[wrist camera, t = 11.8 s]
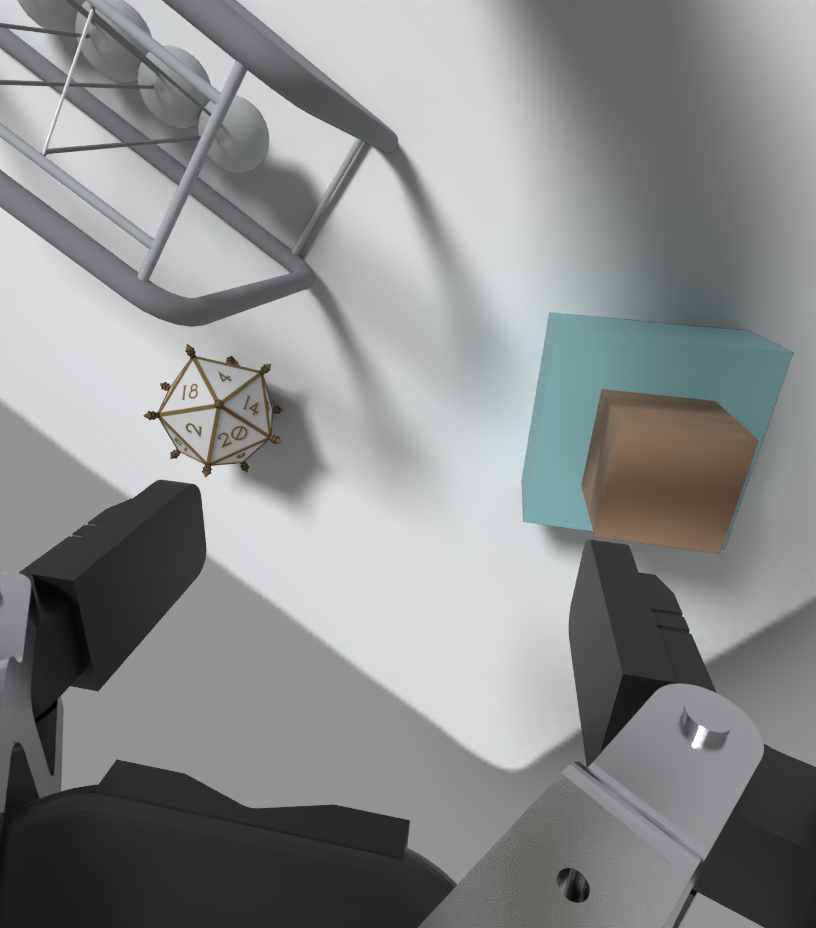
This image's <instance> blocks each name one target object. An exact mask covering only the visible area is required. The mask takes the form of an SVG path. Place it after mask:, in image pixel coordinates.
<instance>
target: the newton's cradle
mask: <svg viewBox="0 0 816 928" xmlns="http://www.w3.org/2000/svg"><path fill="white" fill-rule="evenodd" d="M162 1H164V2H165V3H166V4H167V5H169V6H170V7H171V8H172V9H173V10H175V11H176V12H177V13H178V14H180V15H181V16H182V17H183V18H184V19H186V20H187V21H188V22H189V23H191V24H192V25H193V26H194V27H196V28H197V29H198V30H199V31H200V32H202V33H203V34H204V35H205V36H207V37H208V38H209V39H210V40H211V41H213V42H214V43H215V44H216V45H218V46H219V47H220V48H221V49H222V50H224V51H225V52H226V53H227V54H229V55H230V56H231V57H232V58H233V59H235V60H236V62H235V64H234V66H233V69H232V71H231V73H230V75H229V77H228V80H227V82H226V84H225V86H224V88H223V90H222V93H220V92H219V91H218V90H216V89H215V88H214V87H213V86H211V83H210V80H209V77H208V75H207V73H206V71H205V70H204V68H203V67H202V65H201V64H200V62H199V61H198V60H197V59H196V58H195V57H194V56H192V55H191V54H190V53H188V52H187V51H185V50H183V49H180V48H178V47H174V46H162V45H161V44H159V43H158V42H157V41H156V40H154V39H153V38H152V36H151V33H150V31H149V28H148V26H147V24H146V22H145V21H144V20H143V18H142V17H141V16H140V14H139V13H138V12H137V11H136V10H135V9H134V8H133V7H132V6H131V5H129V4H128V3H126V2H125V1H123V0H18V2H19V3H20V5H21V7H22V8H23V10H24V11H25V12H26V13H27V15H28V16H29V17H30V18H31V19H32V20H34V21H35V22H36V23H37V24H38V25H40V26H41V27H43V28H44V29H42V28H34V27H27V26H19V25H12V24H4V23H0V47H2V48H3V49H4V50H6V51H7V52H8V53H9V54H11V55H12V56H13V57H15V58H16V59H17V60H19V61H20V62H21V63H22V64H24V65H25V66H26V67H28V68H29V69H30V70H31V71H33V72H34V73H35V74H37V75H38V76H39V77H40V78H42V79H43V80H44V81H46V82H43V81H17V80H0V85H27V86H52V87H53V88H55V89H56V90H57V91H59V92H60V93H61V94H62V96H61V99H60V102H59V105H58V108H57V111H56V114H55V117H54V119H53V122H52V125H51V128H50V131H49V134H48V137H47V140H46V143H45V146H44V149H43V151H42V153H39V152H38V151H37V150H35V149H34V148H33V147H31V146H30V145H29V144H27V143H26V142H25V141H23V140H22V139H21V138H19V137H18V136H17V135H15V134H14V133H13V132H11V131H10V130H9V129H8V128H6V127H5V126H4V125H2V124H1V123H0V137H1V138H3V139H4V140H5V141H7V142H8V143H9V144H11V145H12V146H13V147H15V148H16V149H17V150H19V151H20V152H21V153H23V154H24V155H25V156H27V157H28V158H29V159H31V160H32V161H33V162H35V163H36V164H37V165H38V166H40V167H41V168H42V169H44V170H45V171H46V172H48V173H49V174H50V175H52V176H53V177H54V178H56V179H57V180H58V181H60V182H61V183H62V184H64V185H65V186H66V187H68V188H69V189H70V190H72V191H73V192H74V193H76V194H77V195H78V196H80V197H81V198H82V199H84V200H85V201H86V202H88V203H89V204H90V205H92V206H93V207H94V208H96V209H97V210H98V211H100V212H101V213H102V214H103V215H105V216H106V217H107V218H109V219H110V220H111V221H113V222H114V223H115V224H117V225H118V226H119V227H121V228H122V229H123V230H125V231H126V232H127V233H129V234H130V235H131V236H133V237H134V238H135V239H137V240H138V241H139V242H141V243H142V244H143V245H145V246H146V247H147V248H149V249H150V250H149V252H148V254H147V256H146V258H145V261H144V263H143V265H142V267H141V269H140V272H139V273H138V272H137V271H135V270H134V269H133V268H131V267H130V266H129V265H127V264H126V263H125V262H123V261H122V260H121V259H119V258H118V257H117V256H115V255H114V254H113V253H111V252H110V251H109V250H107V249H106V248H105V247H103V246H102V245H101V244H99V243H98V242H96V241H95V240H94V239H92V238H91V237H90V236H88V235H87V234H86V233H84V232H83V231H82V230H80V229H79V228H78V227H76V226H75V225H74V224H72V223H71V222H70V221H68V220H67V219H66V218H64V217H63V216H62V215H60V214H59V213H58V212H56V211H55V210H54V209H52V208H51V207H50V206H48V205H47V204H46V203H44V202H43V201H42V200H40V199H39V198H38V197H36V196H35V195H33V194H32V193H31V192H29V191H28V190H27V189H25V188H24V187H23V186H21V185H20V184H19V183H17V182H16V181H15V180H13V179H12V178H11V177H9V176H8V175H7V174H5V173H4V172H3V171H1V170H0V207H1V208H3V209H4V210H5V211H7V212H8V213H9V214H11V215H12V216H13V217H15V218H16V219H17V220H19V221H20V222H22V223H23V224H24V225H26V226H27V227H28V228H30V229H31V230H32V231H34V232H35V233H36V234H38V235H39V236H40V237H42V238H43V239H45V240H46V241H47V242H49V243H50V244H51V245H53V246H54V247H55V248H57V249H58V250H59V251H61V252H62V253H64V254H65V255H66V256H68V257H69V258H70V259H72V260H73V261H74V262H76V263H77V264H78V265H80V266H81V267H83V268H84V269H85V270H87V271H88V272H89V273H91V274H92V275H93V276H95V277H96V278H97V279H99V280H100V281H102V282H103V283H104V284H106V285H107V286H108V287H110V288H111V289H112V290H114V291H115V292H116V293H118V294H119V295H120V296H122V297H123V298H125V299H126V300H127V301H129V302H130V303H132V304H133V305H135V306H136V307H138V308H140V309H141V310H143V311H144V312H146V313H149V314H151V315H153V316H155V317H157V318H159V319H162V320H165V321H168V322H171V323H174V324H177V325H184V326H190V327H193V326H201V325H206V324H209V323H211V322H214V321H217V320H220V319H223V318H226V317H228V316H231V315H234V314H237V313H240V312H243V311H245V310H248V309H251V308H254V307H257V306H260V305H262V304H265V303H268V302H271V301H274V300H277V299H279V298H282V297H285V296H288V295H291V294H294V293H296V292H299V291H302V290H305V289H307V288H309V287H310V286H311V285H312V284H313V281H314V276H313V272H312V270H311V269H310V267H309V266H308V265H307V264H306V262H305V261H304V260H303V259H302V258H300V257H299V256H298V255H297V254H298V252H299V250H300V249H301V247H302V245H303V244H304V242H305V240H306V238H307V237H308V235H309V233H310V232H311V230H312V228H313V227H314V225H315V223H316V221H317V220H318V218H319V216H320V215H321V213H322V211H323V209H324V208H325V206H326V204H327V203H328V201H329V199H330V198H331V196H332V194H333V192H334V191H335V189H336V187H337V186H338V184H339V182H340V181H341V179H342V177H343V175H344V174H345V172H346V170H347V169H348V167H349V165H350V164H351V162H352V160H353V158H354V157H355V155H356V153H357V152H358V150H359V148H360V147H361V145H362V143H363V141H364V142H366V143H368V144H370V145H371V146H373V147H375V148H377V149H379V150H381V151H383V152H387V153H389V152H392V151H394V150H395V149H396V147H397V145H398V138H397V135H396V134H395V133H394V132H393V131H392V130H391V129H390V128H389V127H388V126H386V125H385V124H384V123H383V122H382V121H380V120H379V119H378V118H377V117H376V116H374V115H373V114H372V113H371V112H370V111H368V110H367V109H366V108H365V107H364V106H362V105H361V104H360V103H359V102H358V101H356V100H355V99H354V98H353V97H352V96H350V95H349V94H348V93H347V92H346V91H344V90H343V89H342V88H341V87H340V86H338V85H337V84H336V83H335V82H334V81H332V80H331V79H330V78H329V77H328V76H326V75H325V74H324V73H323V72H322V71H320V70H319V69H318V68H317V67H315V66H314V65H313V64H312V63H311V62H309V61H308V60H307V59H306V58H305V57H303V56H302V55H301V54H300V53H299V52H297V51H296V50H295V49H294V48H293V47H291V46H290V45H289V44H288V43H287V42H285V41H284V40H283V39H282V38H281V37H279V36H278V35H277V34H276V33H275V32H273V31H272V30H271V29H270V28H269V27H267V26H266V25H265V24H264V23H263V22H261V21H260V20H259V19H258V18H257V17H255V16H254V15H253V14H252V13H251V12H249V11H248V10H247V9H246V8H245V7H243V6H242V5H241V4H240V3H239V2H237V1H236V0H162ZM7 28H9V29H17V30H25V31H33V32H41V33H49V34H57V35H65V36H73V37H76V38H77V42H78V44H79V45H78V48H77V51H76V54H75V57H74V60H73V63H72V66H71V69H70V72H69V75H66V74H65V73H64V72H63V71H61V70H60V69H59V68H57V67H56V66H55V65H54V64H52V63H51V62H50V61H48V60H47V59H46V58H45V57H43V56H42V55H41V54H39V53H38V52H37V51H36V50H34V49H33V48H32V47H31V46H29V45H28V44H27V43H25V42H24V41H23V40H22V39H20V38H19V37H18V36H16V35H15V34H14V33H13V32H11V31H10V30H9V29H7ZM80 51H82V53H83V55H84V56H85V58H86V59H87V61H88V62H89V63H90V65H92V66H93V67H94V68H95V69H96V70H97V71H98V72H99V73H100V74H102V75H104V76H105V77H107V78H109V79H112V80H114V81H119V82H132V81H136V80H138V85H124V84H97V83H77V82H75V81H74V80H73V79H72V78H71V77H72V74H73V71H74V68H75V65H76V62H77V59H78V57H79V54H80ZM247 70H248V71H250V72H251V73H252V74H253V75H255V76H256V77H257V78H258V79H260V80H261V81H262V82H264V83H265V84H266V85H268V86H269V87H270V88H272V89H273V90H274V91H276V92H277V93H278V94H280V95H281V96H283V97H284V98H285V99H287V100H288V101H290V102H291V103H293V104H294V105H295V106H297V107H298V108H300V109H302V110H303V111H305V112H307V113H308V114H310V115H312V116H314V117H316V118H318V119H320V120H322V121H324V122H326V123H328V124H330V125H332V126H334V127H336V128H338V129H340V130H342V131H344V132H346V133H348V134H350V135H352V136H354V137H356V138H357V140H356V141H355V143H354V145H353V146H352V148H351V150H350V152H349V153H348V155H347V157H346V158H345V160H344V162H343V164H342V165H341V167H340V169H339V170H338V172H337V174H336V176H335V177H334V179H333V181H332V183H331V184H330V186H329V188H328V189H327V191H326V193H325V195H324V196H323V198H322V200H321V201H320V203H319V205H318V207H317V208H316V210H315V212H314V213H313V215H312V217H311V219H310V220H309V222H308V224H307V226H306V227H305V229H304V231H303V232H302V234H301V236H300V238H299V239H298V241H297V243H296V244H295V246H294V248H293V250H291V249H289V248H288V247H287V246H285V245H284V244H283V243H282V242H280V241H279V240H278V239H277V238H275V237H274V236H273V235H271V234H270V233H269V232H268V231H266V230H265V229H264V228H262V227H261V226H260V225H259V224H257V223H256V222H255V221H253V220H252V219H251V218H250V217H248V216H247V215H246V214H244V213H243V212H242V211H241V210H239V209H238V208H237V207H236V206H234V205H233V204H232V203H230V202H229V201H228V200H227V199H225V198H224V197H223V196H221V195H220V194H219V193H218V192H216V191H215V190H214V189H212V188H211V187H210V186H209V185H207V184H206V183H205V182H203V181H202V180H201V179H200V178H198V177H197V176H198V174H199V172H200V169H201V167H202V165H203V163H204V161H205V159H206V157H207V156H208V157H209V158H210V159H211V160H212V161H213V162H214V163H215V164H216V165H217V166H219V167H220V168H222V169H224V170H227V171H229V172H233V173H244V172H248V171H251V170H253V169H255V168H256V167H257V166H258V165H259V164H260V163H261V162H262V161H263V160H264V158H265V156H266V154H267V151H268V147H269V133H268V128H267V125H266V122H265V120H264V118H263V116H262V115H261V113H260V112H259V110H258V109H257V108H256V107H255V106H254V105H253V104H252V103H250V102H249V101H247V100H246V99H244V98H242V97H239V96H235V95H236V93H237V91H238V88H239V86H240V84H241V82H242V80H243V78H244V76H245V74H246V71H247ZM83 87H96V88H130V89H139V91H140V93H141V96H142V99H143V101H144V103H145V105H146V106H147V108H148V109H149V110H150V112H151V113H152V114H153V115H154V116H155V117H157V118H158V119H159V120H160V121H162V122H163V123H165V124H167V125H170V126H172V127H176V128H190V127H193V126H195V125H197V124H198V132H199V136H195V137H183V138H171V139H159V140H150V139H148V138H147V137H146V136H145V135H143V134H142V133H141V132H139V131H138V130H137V129H136V128H134V127H133V126H132V125H130V124H129V123H128V122H127V121H125V120H124V119H123V118H121V117H120V116H119V115H118V114H116V113H115V112H114V111H113V110H111V109H110V108H109V107H107V106H106V105H105V104H104V103H102V102H101V101H100V100H98V99H97V98H96V97H95V96H93V95H92V94H91V93H89V92H88V91H87V90H86V89H84V88H83ZM65 97H66V98H68V99H69V100H70V101H71V102H73V103H74V104H75V105H77V106H78V107H79V108H80V109H82V110H83V111H84V112H86V113H87V114H88V115H89V116H91V117H92V118H93V119H95V120H96V121H97V122H99V123H100V124H101V125H102V126H104V127H105V128H106V129H108V130H109V131H110V132H111V133H113V134H114V135H115V136H117V137H118V138H119V139H120V140H122V141H123V142H124V143H112V144H100V145H88V146H76V147H64V148H53V149H47V148H48V145H49V142H50V139H51V136H52V133H53V130H54V127H55V124H56V121H57V118H58V115H59V112H60V109H61V106H62V104H63V101H64V98H65ZM191 140H200V141H199V143H198V145H197V147H196V149H195V152H194V154H193V156H192V158H191V160H190V162H189V165H188V167H187V168H186V167H184V166H183V165H182V164H180V163H179V162H178V161H177V160H175V159H174V158H173V157H171V156H170V155H169V154H168V153H166V152H165V151H164V150H162V149H161V148H160V147H159V146H157V145H156V144H159V143H170V142H180V141H191ZM127 146H129V147H131V148H132V149H133V150H135V151H136V152H137V153H139V154H140V155H141V156H142V157H144V158H145V159H146V160H148V161H149V162H150V163H151V164H153V165H154V166H155V167H157V168H158V169H159V170H160V171H162V172H163V173H164V174H166V175H167V176H168V177H169V178H171V179H172V180H173V181H175V182H176V183H177V184H179V186H178V189H177V191H176V193H175V195H174V197H173V200H172V202H171V204H170V206H169V208H168V210H167V213H166V215H165V217H164V219H163V221H162V224H161V226H160V228H159V230H158V232H157V234H156V237H155V239H153V238H151V237H150V236H149V235H148V234H146V233H145V232H144V231H142V230H141V229H140V228H138V227H137V226H136V225H134V224H133V223H132V222H130V221H129V220H128V219H126V218H125V217H124V216H122V215H121V214H120V213H118V212H117V211H116V210H114V209H113V208H112V207H111V206H109V205H108V204H107V203H105V202H104V201H103V200H101V199H100V198H99V197H97V196H96V195H95V194H93V193H92V192H91V191H89V190H88V189H87V188H85V187H84V186H83V185H81V184H80V183H79V182H78V181H76V180H75V179H74V178H72V177H71V176H70V175H68V174H67V173H66V172H64V171H63V170H62V169H60V168H59V167H58V166H56V165H55V164H54V163H52V162H51V161H50V160H48V159H47V158H46V157H45V156H46V155H47V154H52V153H63V152H73V151H84V150H95V149H105V148H116V147H127ZM189 193H190V194H191V195H193V196H194V197H195V198H197V199H198V200H199V201H200V202H202V203H203V204H204V205H206V206H207V207H208V208H209V209H211V210H212V211H213V212H215V213H216V214H217V215H219V216H220V217H221V218H222V219H224V220H225V221H226V222H228V223H229V224H230V225H231V226H233V227H234V228H235V229H237V230H238V231H239V232H240V233H242V234H243V235H244V236H246V237H247V238H248V239H249V240H251V241H252V242H253V243H255V244H256V245H257V246H259V247H260V248H261V249H262V250H264V251H265V252H266V253H268V254H269V255H270V256H271V257H273V258H274V259H275V260H277V261H278V262H279V263H280V264H282V265H283V266H284V267H286V268H287V269H288V270H289V271H290V272H291V274H287V275H283V276H279V277H275V278H271V279H268V280H264V281H260V282H256V283H252V284H248V285H244V286H240V287H237V288H233V289H229V290H225V291H221V292H217V293H213V294H209V295H206V296H202V297H198V298H186V297H181V296H179V295H176V294H173V293H170V292H168V291H166V290H164V289H162V288H160V287H158V286H157V285H155V284H154V283H152V282H151V281H149V278H150V276H151V274H152V272H153V269H154V267H155V265H156V263H157V261H158V259H159V257H160V255H161V252H162V250H163V248H164V246H165V244H166V242H167V240H168V238H169V235H170V233H171V231H172V229H173V227H174V225H175V223H176V220H177V218H178V216H179V214H180V212H181V210H182V208H183V206H184V203H185V201H186V199H187V197H188V195H189Z"/></svg>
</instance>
